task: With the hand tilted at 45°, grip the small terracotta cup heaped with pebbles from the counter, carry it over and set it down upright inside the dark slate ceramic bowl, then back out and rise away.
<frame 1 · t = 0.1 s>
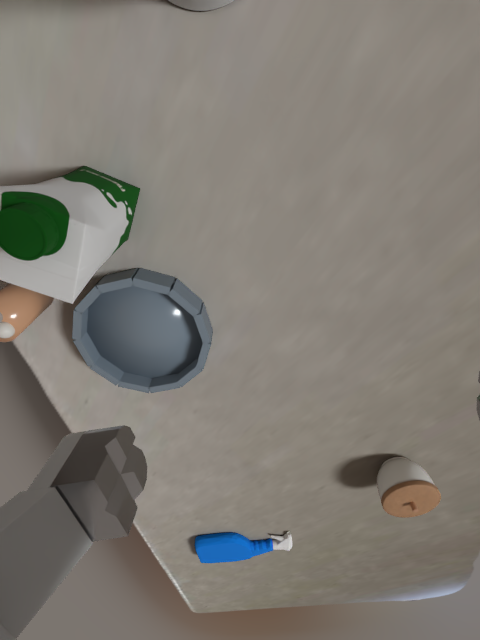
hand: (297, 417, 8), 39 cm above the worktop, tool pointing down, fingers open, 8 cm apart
pebble cup: (34, 291, 50), on the worktop
lidded jar: (395, 465, 70), on the worktop
milk carton: (107, 204, 43), on the worktop
spray bottle: (244, 539, 87), on the worktop
slate bowl: (147, 328, 53), on the worktop
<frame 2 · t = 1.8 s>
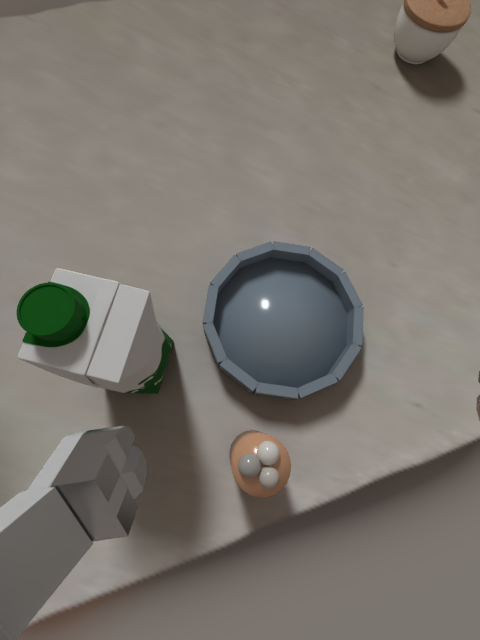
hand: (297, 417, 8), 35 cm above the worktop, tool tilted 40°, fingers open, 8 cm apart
pebble cup: (252, 454, 40), on the worktop
lidded jar: (411, 53, 61), on the worktop
milk carton: (139, 360, 43), on the worktop
slate bowl: (280, 322, 45), on the worktop
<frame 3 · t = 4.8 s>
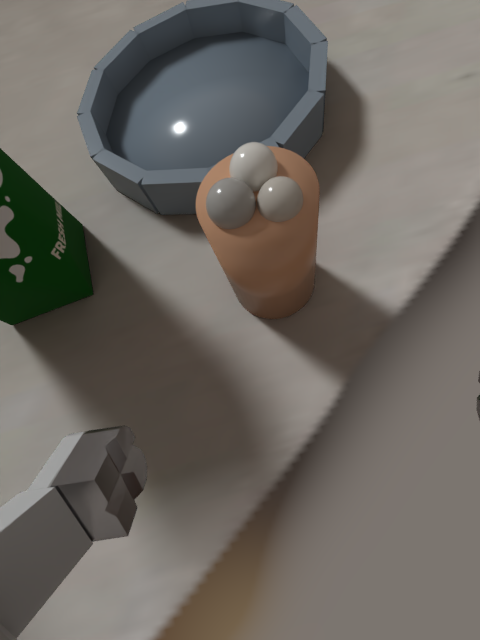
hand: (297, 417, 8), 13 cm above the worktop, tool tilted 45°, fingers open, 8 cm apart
pebble cup: (273, 281, 23), on the worktop
milk carton: (51, 274, 27), on the worktop
slate bowl: (208, 118, 30), on the worktop
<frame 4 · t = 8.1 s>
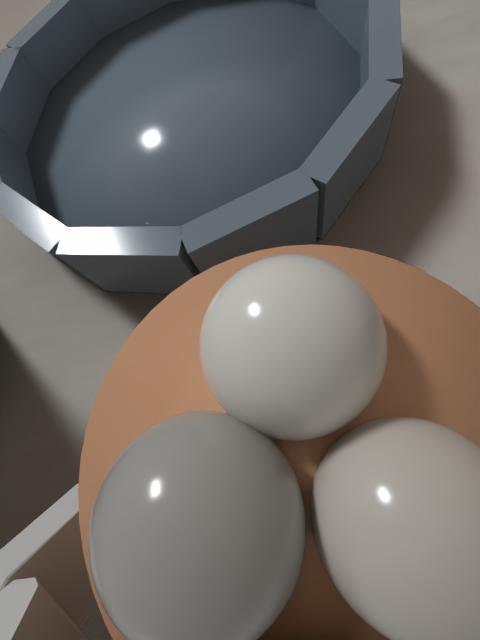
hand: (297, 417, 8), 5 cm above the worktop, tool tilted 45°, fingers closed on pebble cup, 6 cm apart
pebble cup: (304, 442, 12), on the worktop, touching gripper
slate bowl: (189, 126, 18), on the worktop
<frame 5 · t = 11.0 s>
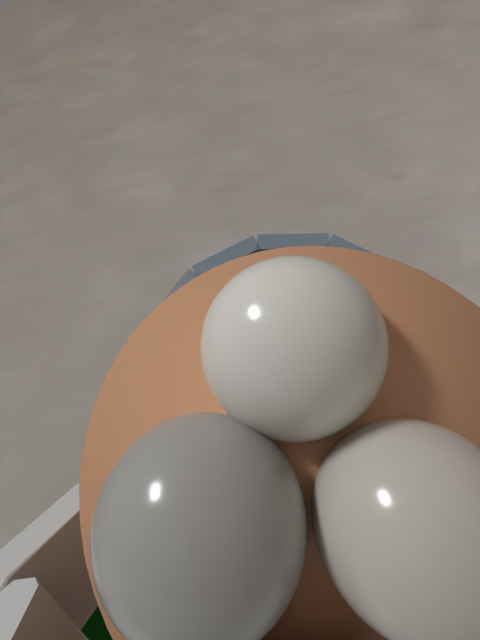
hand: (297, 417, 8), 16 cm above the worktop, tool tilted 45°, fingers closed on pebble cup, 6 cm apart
pebble cup: (304, 442, 12), point 11 cm above the worktop, touching gripper
milk carton: (100, 603, 22), on the worktop
slate bowl: (286, 381, 24), on the worktop
when the fingers open (8 cm above the worktop, at t = 14.0 s): pebble cup drops 1 cm, resting on slate bowl.
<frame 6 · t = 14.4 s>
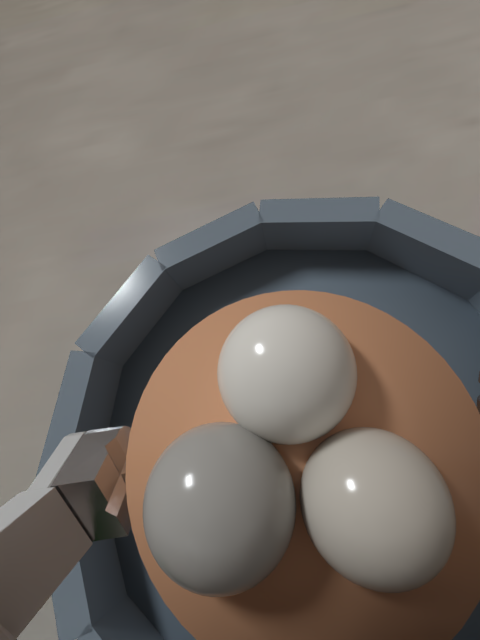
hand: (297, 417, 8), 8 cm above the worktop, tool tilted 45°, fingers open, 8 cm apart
pebble cup: (303, 441, 14), point 1 cm above the worktop, touching slate bowl
slate bowl: (305, 440, 15), on the worktop
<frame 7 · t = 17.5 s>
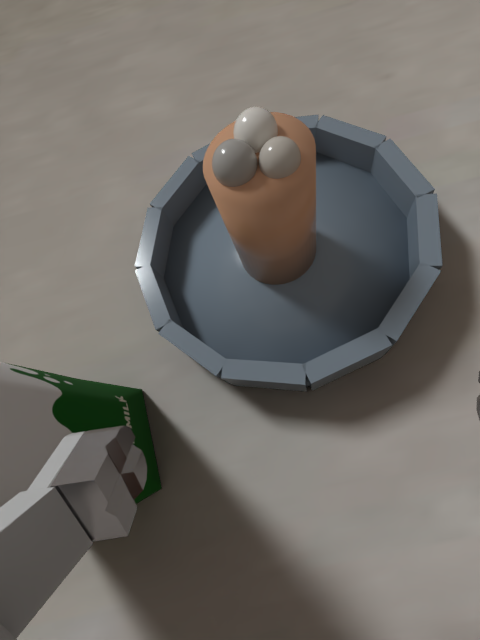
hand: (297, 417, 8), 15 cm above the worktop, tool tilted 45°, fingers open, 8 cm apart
pebble cup: (277, 250, 25), point 1 cm above the worktop, touching slate bowl
milk carton: (109, 451, 24), on the worktop
slate bowl: (280, 257, 26), on the worktop
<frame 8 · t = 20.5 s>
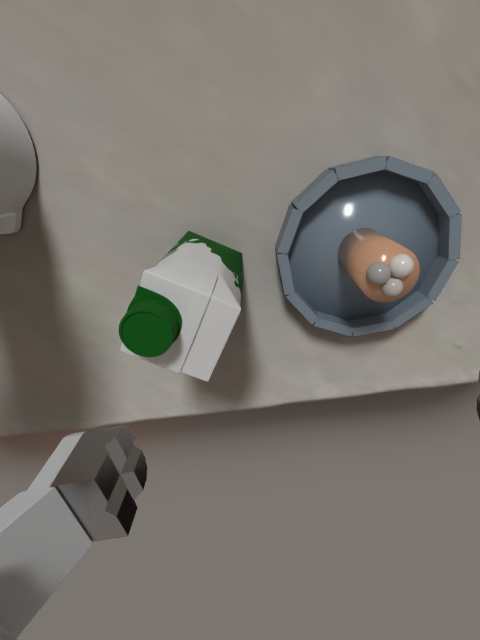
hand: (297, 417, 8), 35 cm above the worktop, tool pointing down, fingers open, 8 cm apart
pebble cup: (361, 251, 40), point 1 cm above the worktop, touching slate bowl
milk carton: (206, 266, 43), on the worktop
slate bowl: (358, 249, 41), on the worktop
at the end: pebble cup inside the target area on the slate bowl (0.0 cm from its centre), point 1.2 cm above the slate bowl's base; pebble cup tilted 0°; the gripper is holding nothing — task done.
